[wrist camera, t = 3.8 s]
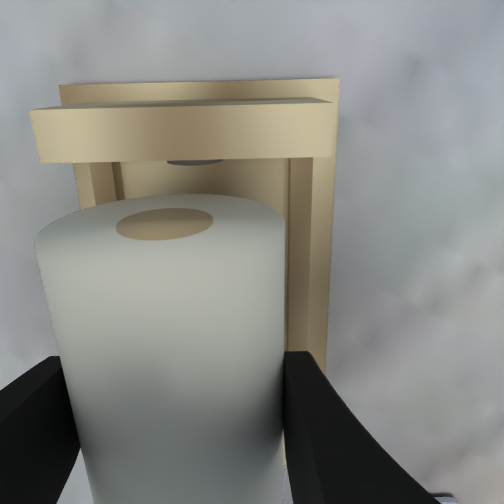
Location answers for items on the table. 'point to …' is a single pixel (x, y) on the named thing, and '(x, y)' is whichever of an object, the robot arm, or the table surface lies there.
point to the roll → (172, 345)
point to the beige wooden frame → (215, 163)
